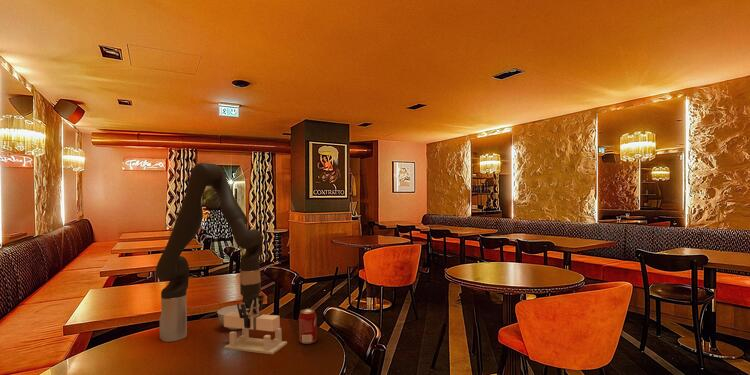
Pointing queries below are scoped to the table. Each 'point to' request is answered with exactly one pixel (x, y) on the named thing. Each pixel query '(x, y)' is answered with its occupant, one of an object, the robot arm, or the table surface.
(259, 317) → the beige bar
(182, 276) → the robot arm
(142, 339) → the table surface
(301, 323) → the soda can
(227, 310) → the chinaware
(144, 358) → the table surface
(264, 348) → the cream footed plank
